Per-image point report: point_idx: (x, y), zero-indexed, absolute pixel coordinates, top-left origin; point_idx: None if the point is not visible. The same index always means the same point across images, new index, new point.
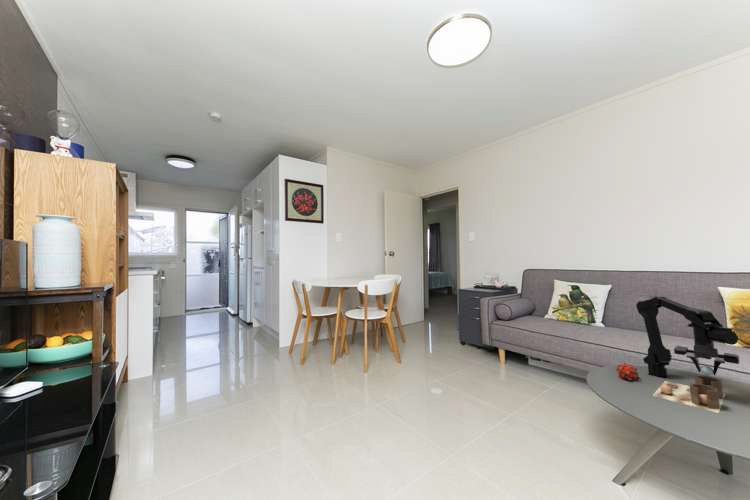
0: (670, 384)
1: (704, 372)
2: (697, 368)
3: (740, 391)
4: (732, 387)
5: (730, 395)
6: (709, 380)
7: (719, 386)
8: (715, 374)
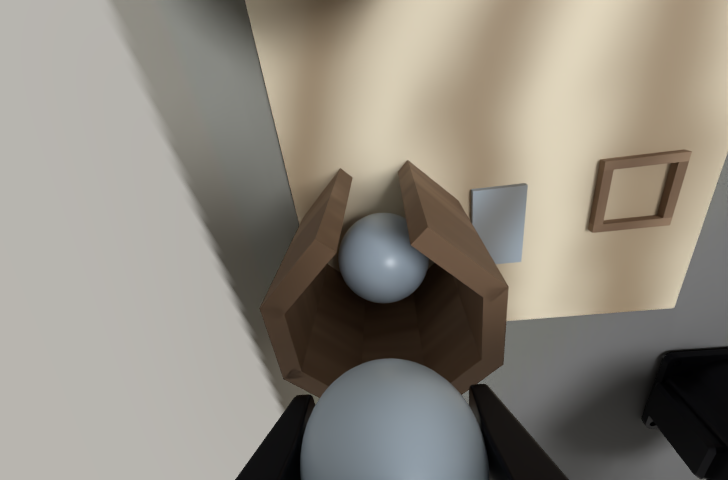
0: (650, 224)
1: (409, 372)
2: (526, 439)
3: None
4: None
5: None
6: None
7: (283, 265)
8: (287, 407)
